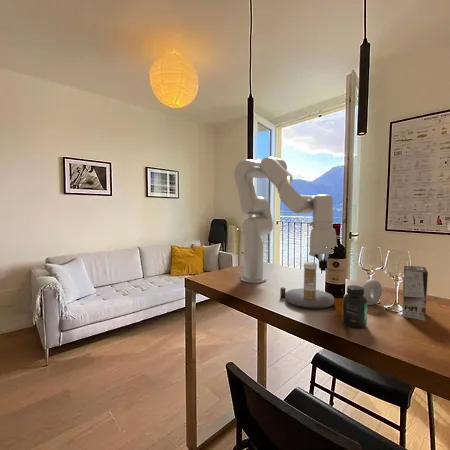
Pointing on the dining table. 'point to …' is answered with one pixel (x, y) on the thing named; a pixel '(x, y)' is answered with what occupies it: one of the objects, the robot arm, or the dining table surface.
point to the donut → (376, 291)
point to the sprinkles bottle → (310, 280)
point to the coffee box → (414, 292)
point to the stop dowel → (282, 293)
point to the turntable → (320, 301)
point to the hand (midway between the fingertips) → (322, 270)
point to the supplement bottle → (355, 307)
